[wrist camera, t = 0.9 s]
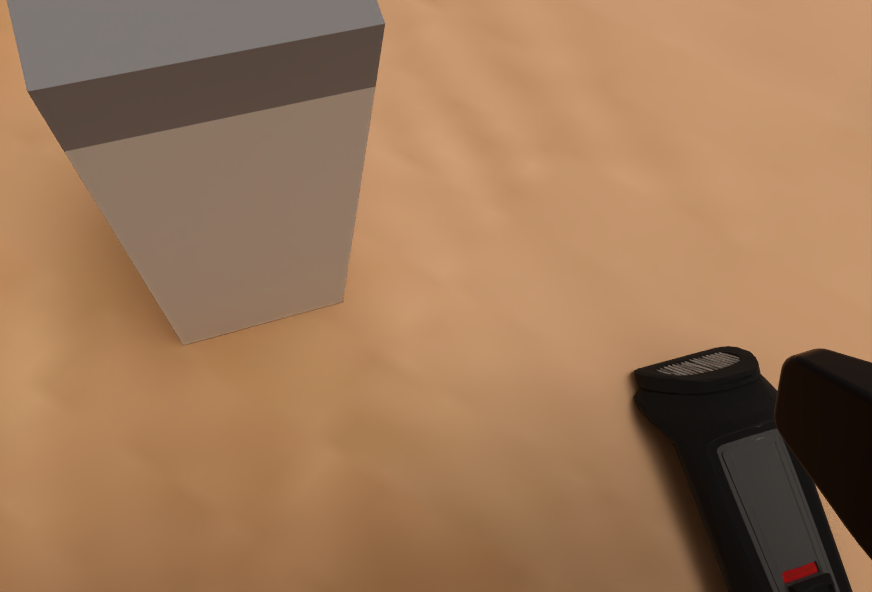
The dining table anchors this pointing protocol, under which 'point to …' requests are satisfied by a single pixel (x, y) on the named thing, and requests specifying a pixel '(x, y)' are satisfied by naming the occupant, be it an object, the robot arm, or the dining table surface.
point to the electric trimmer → (743, 472)
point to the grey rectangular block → (214, 141)
